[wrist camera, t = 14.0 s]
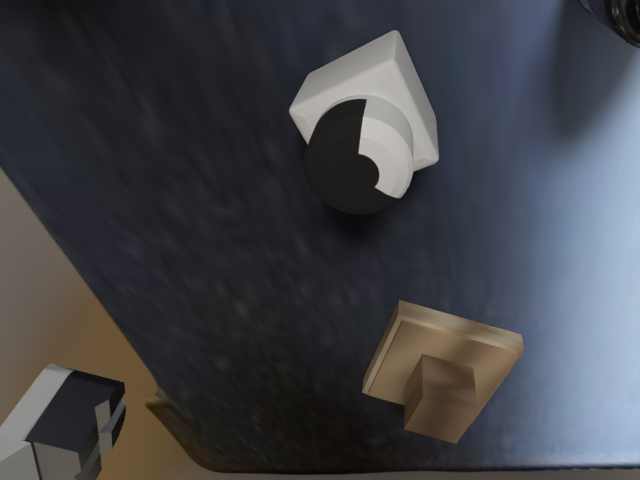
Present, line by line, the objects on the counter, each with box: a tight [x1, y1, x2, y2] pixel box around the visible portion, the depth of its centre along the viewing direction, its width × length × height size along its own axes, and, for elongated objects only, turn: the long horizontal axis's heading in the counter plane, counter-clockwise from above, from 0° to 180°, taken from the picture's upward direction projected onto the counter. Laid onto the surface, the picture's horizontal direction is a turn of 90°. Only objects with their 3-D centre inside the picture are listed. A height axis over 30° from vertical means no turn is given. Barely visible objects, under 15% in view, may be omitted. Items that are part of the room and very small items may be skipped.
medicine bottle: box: [289, 30, 439, 214], centre depth 32 cm, size 7×7×12 cm
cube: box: [404, 354, 478, 444], centre depth 48 cm, size 5×5×5 cm
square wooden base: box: [362, 300, 525, 422], centre depth 51 cm, size 12×12×2 cm
